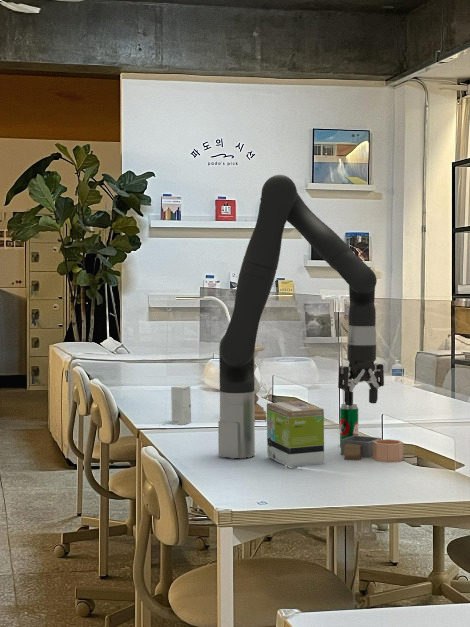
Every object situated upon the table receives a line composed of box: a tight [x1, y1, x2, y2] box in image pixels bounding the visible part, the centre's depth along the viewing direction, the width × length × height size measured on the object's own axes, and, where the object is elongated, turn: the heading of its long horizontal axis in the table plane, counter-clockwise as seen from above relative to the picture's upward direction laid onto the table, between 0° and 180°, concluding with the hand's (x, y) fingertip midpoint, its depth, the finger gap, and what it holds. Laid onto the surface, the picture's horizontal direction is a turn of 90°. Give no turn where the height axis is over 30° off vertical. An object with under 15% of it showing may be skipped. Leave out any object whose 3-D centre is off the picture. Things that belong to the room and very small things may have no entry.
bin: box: [340, 435, 382, 459], centre depth 253 cm, size 8×8×4 cm
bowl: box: [372, 439, 404, 463], centre depth 246 cm, size 7×7×5 cm
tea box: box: [266, 400, 325, 467], centre depth 246 cm, size 15×10×15 cm, turn 21°
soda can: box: [339, 403, 359, 447], centre depth 265 cm, size 5×5×12 cm
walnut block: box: [343, 444, 362, 461], centre depth 247 cm, size 4×4×4 cm
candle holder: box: [254, 345, 267, 421], centre depth 317 cm, size 11×11×24 cm
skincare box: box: [170, 384, 192, 426], centre depth 309 cm, size 6×4×12 cm
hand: (361, 404), depth 252 cm, fingers open, 8 cm apart
